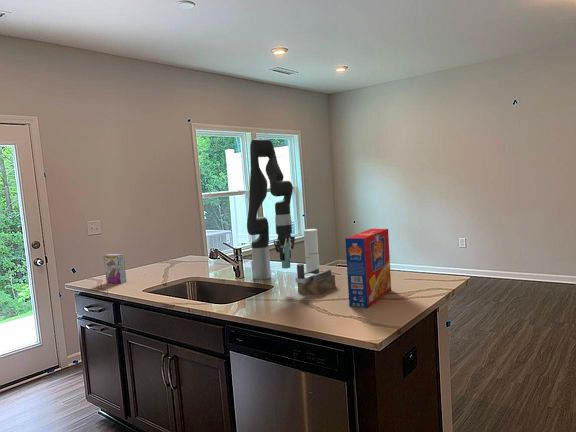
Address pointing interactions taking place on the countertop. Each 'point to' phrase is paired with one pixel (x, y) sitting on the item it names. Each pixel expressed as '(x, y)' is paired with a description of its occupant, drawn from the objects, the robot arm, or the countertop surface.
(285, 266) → the teal peg
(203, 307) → the countertop surface
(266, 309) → the countertop surface
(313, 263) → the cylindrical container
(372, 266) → the pasta box
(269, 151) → the robot arm
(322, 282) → the socket block
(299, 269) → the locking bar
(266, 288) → the countertop surface
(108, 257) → the candy bar box
